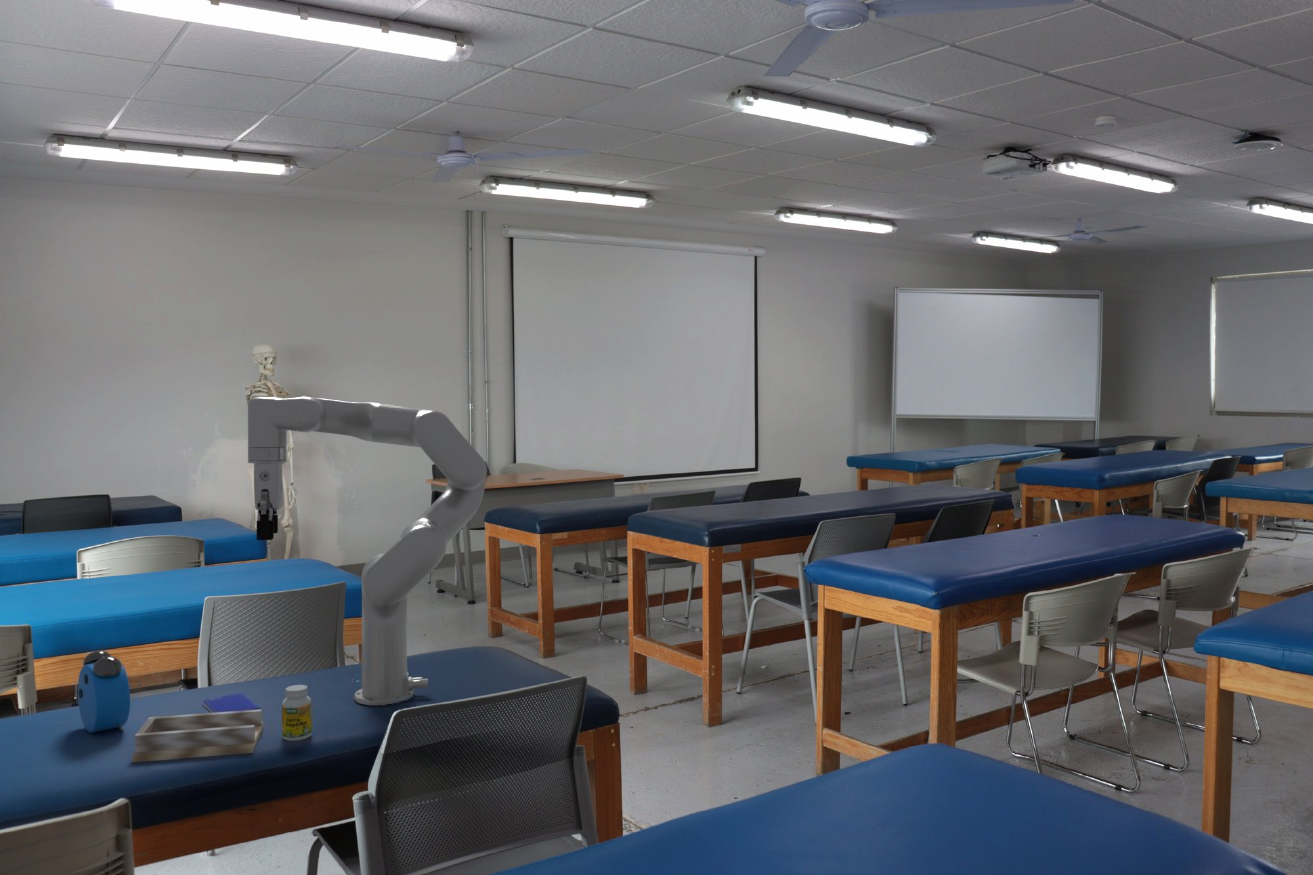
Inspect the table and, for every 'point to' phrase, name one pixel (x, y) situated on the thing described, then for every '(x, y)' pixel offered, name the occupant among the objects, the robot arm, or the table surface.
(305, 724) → the supplement bottle
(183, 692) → the table surface
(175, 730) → the rail holder
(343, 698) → the table surface
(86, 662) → the alarm clock
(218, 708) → the hard drive
